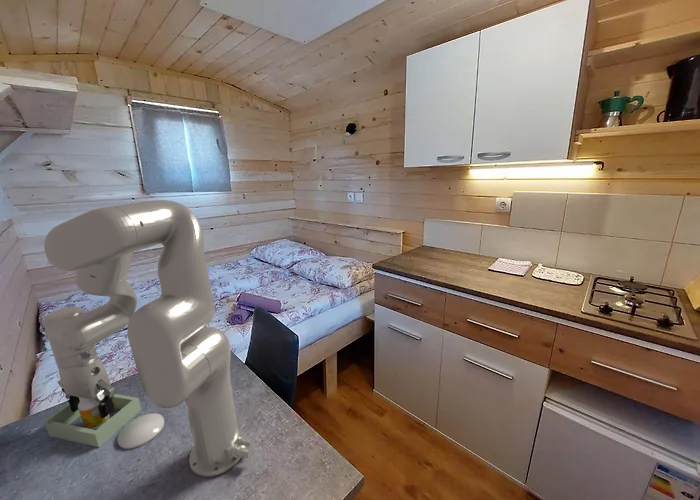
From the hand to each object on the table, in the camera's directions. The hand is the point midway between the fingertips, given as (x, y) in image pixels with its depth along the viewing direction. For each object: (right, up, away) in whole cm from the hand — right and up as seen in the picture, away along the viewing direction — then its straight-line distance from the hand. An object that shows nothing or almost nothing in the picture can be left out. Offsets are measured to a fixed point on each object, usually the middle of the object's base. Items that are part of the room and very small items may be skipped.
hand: (93, 410), depth 80 cm
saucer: (+15, -4, -2) cm, 15 cm away
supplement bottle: (0, -4, +1) cm, 4 cm away
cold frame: (0, -4, +1) cm, 4 cm away
